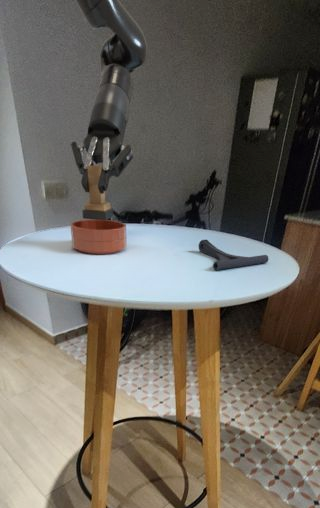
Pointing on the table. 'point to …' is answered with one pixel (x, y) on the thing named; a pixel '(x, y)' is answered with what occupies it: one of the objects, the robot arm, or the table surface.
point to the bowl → (98, 236)
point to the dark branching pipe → (229, 257)
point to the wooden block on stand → (96, 197)
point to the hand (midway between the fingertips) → (93, 189)
